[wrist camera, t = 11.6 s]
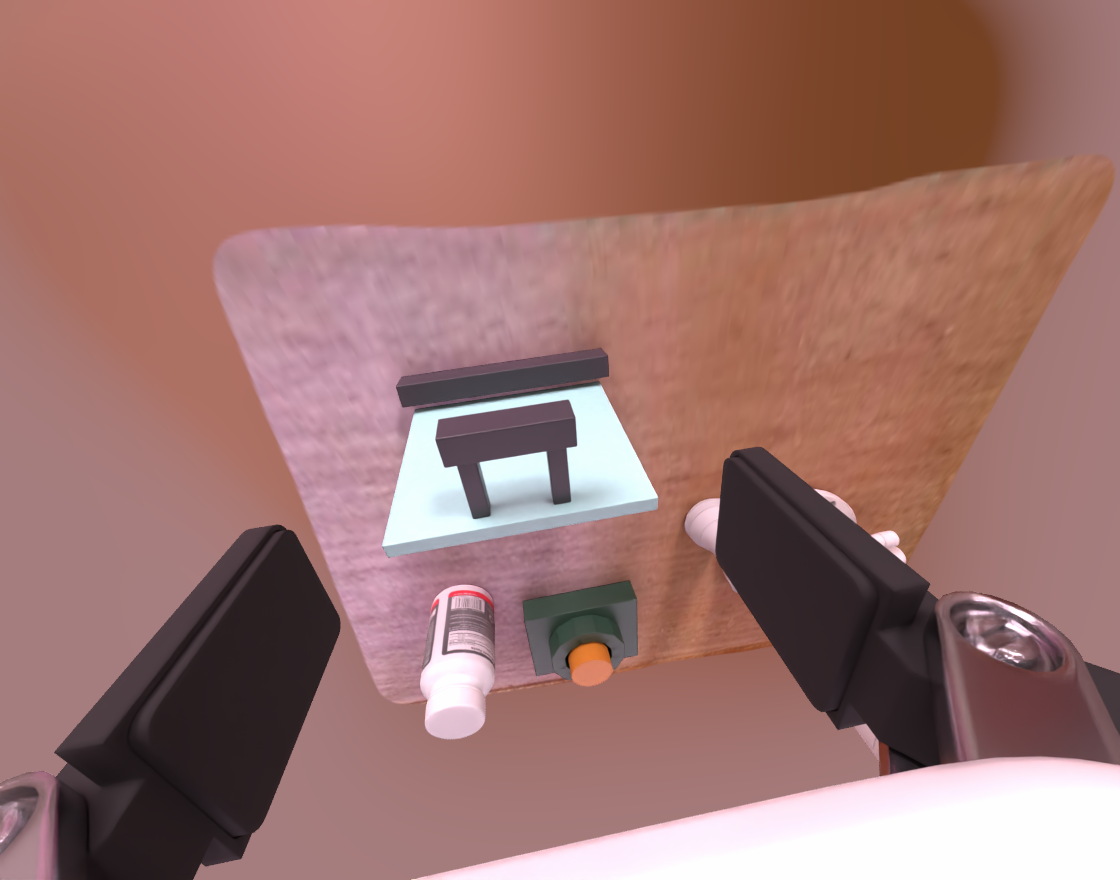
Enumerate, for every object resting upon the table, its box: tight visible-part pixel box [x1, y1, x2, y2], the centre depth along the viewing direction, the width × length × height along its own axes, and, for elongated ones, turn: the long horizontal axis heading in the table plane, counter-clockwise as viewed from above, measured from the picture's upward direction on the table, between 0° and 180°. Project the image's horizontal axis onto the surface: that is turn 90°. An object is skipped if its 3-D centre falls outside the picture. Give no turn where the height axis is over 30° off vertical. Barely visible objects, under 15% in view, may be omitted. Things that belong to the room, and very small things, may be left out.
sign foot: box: [396, 348, 609, 407], centre depth 26 cm, size 13×1×2 cm, turn 96°
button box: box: [523, 581, 638, 680], centre depth 37 cm, size 10×8×4 cm
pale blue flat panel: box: [382, 381, 658, 558], centre depth 21 cm, size 12×11×6 cm
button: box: [568, 642, 613, 686], centre depth 35 cm, size 4×4×2 cm
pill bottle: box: [420, 585, 495, 739], centre depth 31 cm, size 5×5×10 cm
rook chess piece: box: [684, 499, 738, 593], centre depth 31 cm, size 4×4×8 cm
